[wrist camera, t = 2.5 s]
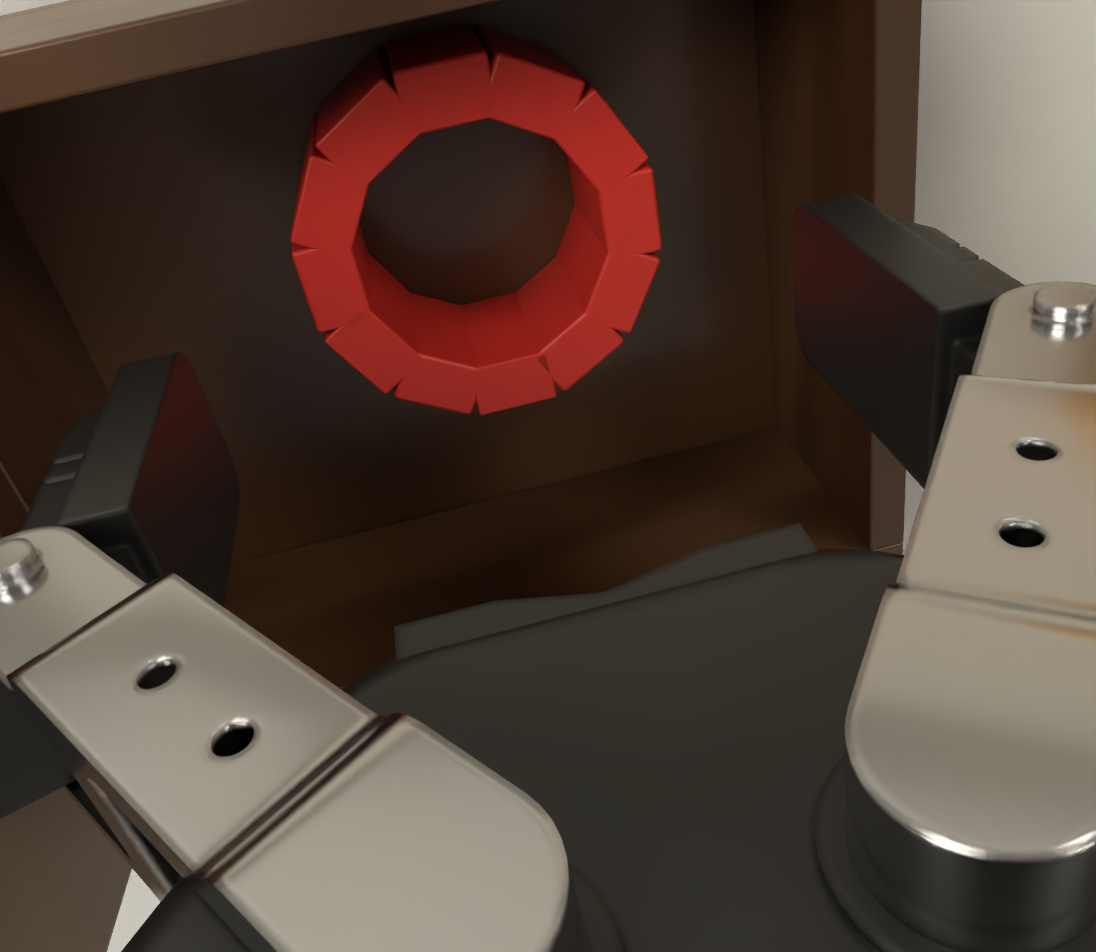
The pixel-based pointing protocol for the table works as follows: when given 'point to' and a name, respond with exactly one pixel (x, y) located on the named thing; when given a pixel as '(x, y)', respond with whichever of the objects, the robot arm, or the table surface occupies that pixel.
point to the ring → (497, 323)
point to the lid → (57, 879)
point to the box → (448, 291)
